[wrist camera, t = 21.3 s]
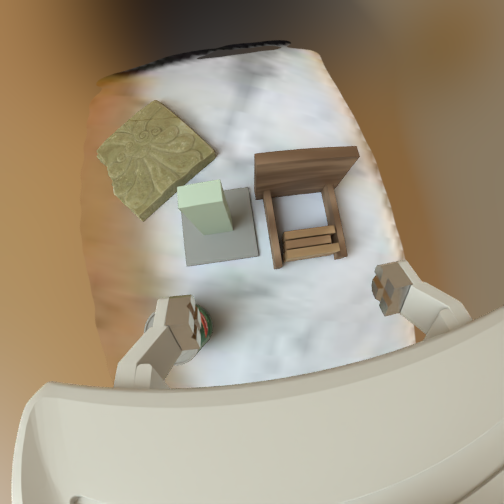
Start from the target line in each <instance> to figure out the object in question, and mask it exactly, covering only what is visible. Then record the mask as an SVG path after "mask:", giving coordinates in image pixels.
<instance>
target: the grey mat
mask: <svg viewBox="0 0 504 504" xmlns="http://www.w3.org/2000/svg"><path fill="white" fill-rule="evenodd" d="M224 194H225V197H226V201H227V204H228V207H229V210H230V214H231V218H232V225H233V231H229V232H223V233H216V234H210V235H203V234H202V233H201V232H200V231H199V230H198V229H197V228H196V227H195V226H194V225H193V223H192V222H191V221H190V220H189V219H188V218H187V217H186V216H185V215H184V214H183V213H182V212H181V215H182V226H183V237H184V247H185V256H186V265H187V266H194V265H201V264H208V263H215V262H222V261H229V260H236V259H243V258H250V257H257V256H258V250H257V243H256V236H255V230H254V223H253V216H252V210H251V203H250V197H249V190H248V187H245V188H238V189H232V190H225V191H224Z"/></svg>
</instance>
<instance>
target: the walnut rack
mask: <svg viewBox="0 0 504 504" xmlns="http://www.w3.org/2000/svg"><path fill="white" fill-rule="evenodd" d="M359 157H360V156H359V152H358V149H357V146H347V147H325V148H309V149H296V150H285V151H275V152H266V153H257V154H255V168H254V192H255V198H256V200H258V199H263V202H264V208H265V214H266V221H267V227H268V233H269V239H270V246H271V252H272V259H273V265H274V269H279V268H281V267H283V266H282V259H281V253H280V247H279V241H278V234H277V228H276V222H275V216H274V210H273V205H272V199H271V198H273V197H281V196H290V195H298V194H307V193H316V192H321V193H322V198H323V203H324V207H325V212H326V217H327V222H328V226H331V225H334V227H335V232H336V233H334V234H333V235H331V242H332V244H333V243H339V247H340V251H338V252H336V253H333V254H334V260H336V259H341V258H344V257H347V251H346V245H345V240H344V235H343V230H342V225H341V220H340V215H339V210H338V206H337V201H336V197H335V193H334V189H335V187H336V186H337V185H338V184H339V182H340V181H341V180H342V179H343V177H344V176H345V175H346V173H347V172H348V171H349V170H350V168H351V167H352V166H353V165H354V163H355V162H356V161H357V159H358V158H359Z"/></svg>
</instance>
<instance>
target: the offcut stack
mask: <svg viewBox="0 0 504 504" xmlns="http://www.w3.org/2000/svg"><path fill="white" fill-rule="evenodd" d="M334 233H336V232H335V227H334V225H331V226H324V227H316V228H309V229H301V230H294V231H287V232H284V234H283V235H282V243H283V246H282V247H283V253H284V254H283V261H284V262H289V261H295V260H302V259H309V258H315V257H321V256H328V255H331V254H333V253H336V252H338V251H340V247H339V243H333V244H330V243H332V242H331V235H333V234H334Z"/></svg>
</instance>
